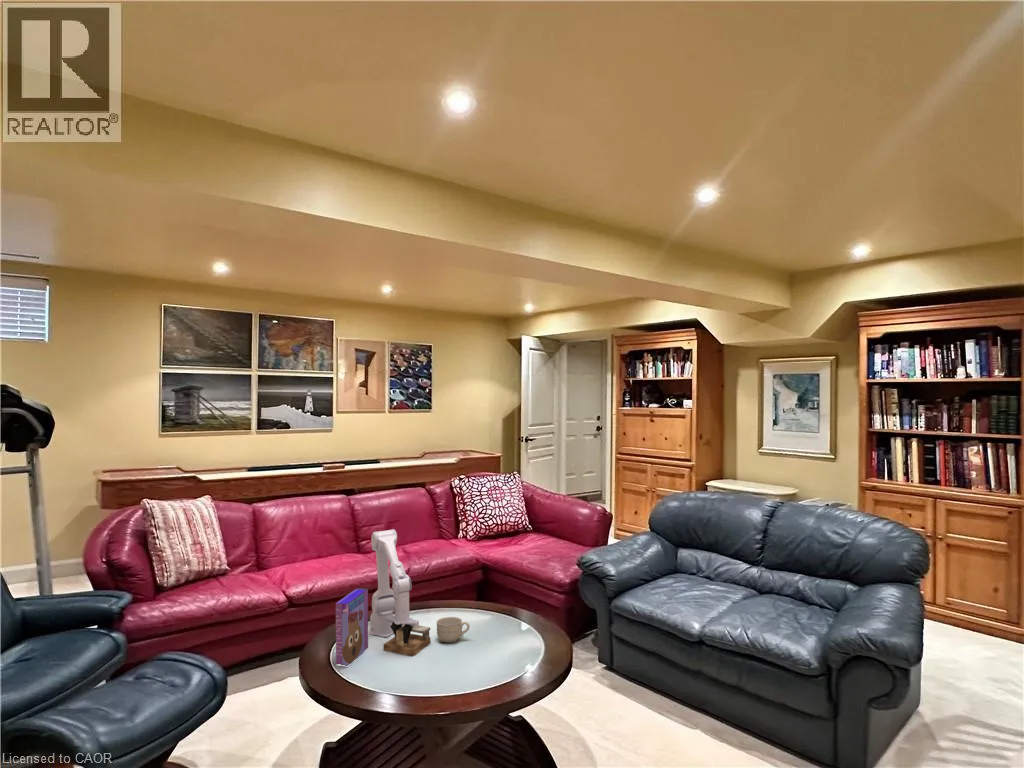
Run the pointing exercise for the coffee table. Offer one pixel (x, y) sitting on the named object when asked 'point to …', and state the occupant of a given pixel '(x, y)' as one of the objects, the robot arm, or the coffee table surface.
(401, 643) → the peg
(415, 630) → the socket block
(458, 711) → the coffee table surface
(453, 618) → the teacup
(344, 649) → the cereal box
